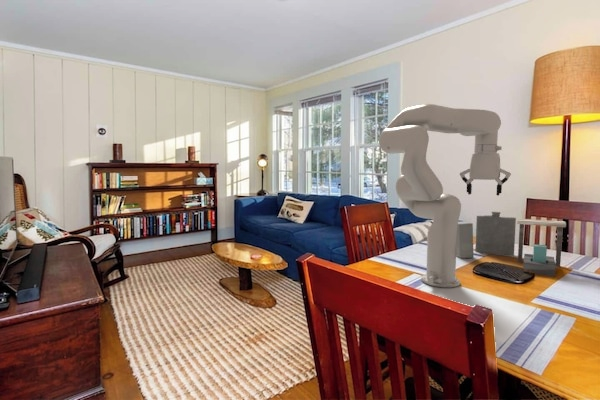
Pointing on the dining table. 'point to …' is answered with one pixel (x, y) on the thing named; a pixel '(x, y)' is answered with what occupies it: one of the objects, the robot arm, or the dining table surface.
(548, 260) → the socket stand
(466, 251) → the skincare box
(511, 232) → the hip flask
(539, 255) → the peg
